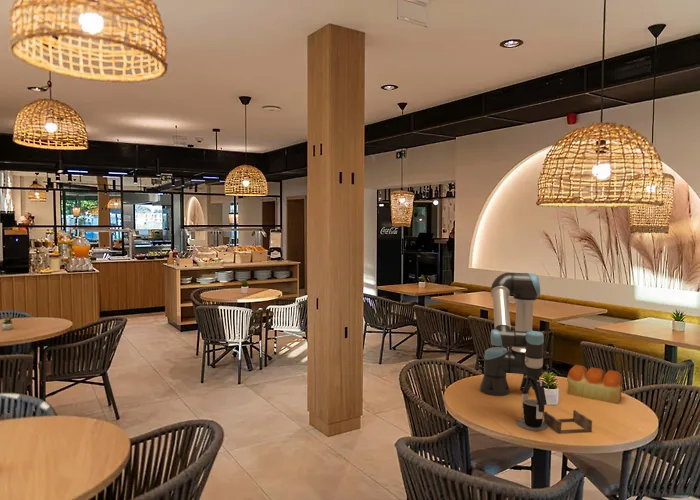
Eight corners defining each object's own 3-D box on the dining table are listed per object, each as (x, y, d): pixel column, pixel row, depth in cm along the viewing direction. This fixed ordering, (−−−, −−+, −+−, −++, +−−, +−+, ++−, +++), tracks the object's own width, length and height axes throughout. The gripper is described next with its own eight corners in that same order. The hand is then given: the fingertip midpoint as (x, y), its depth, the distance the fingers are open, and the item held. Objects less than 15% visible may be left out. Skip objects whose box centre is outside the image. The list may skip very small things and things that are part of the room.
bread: (622, 398, 273) (623, 370, 272) (618, 404, 263) (620, 376, 262) (571, 388, 287) (572, 362, 286) (566, 394, 277) (567, 367, 276)
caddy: (543, 422, 238) (544, 411, 237) (575, 420, 240) (575, 410, 240) (558, 433, 225) (559, 422, 225) (591, 431, 228) (592, 420, 227)
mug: (547, 428, 229) (548, 405, 228) (528, 429, 228) (528, 406, 227) (534, 418, 241) (535, 396, 240) (516, 418, 240) (516, 397, 239)
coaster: (511, 420, 240) (511, 418, 240) (537, 418, 242) (537, 417, 242) (524, 431, 227) (525, 430, 227) (552, 430, 229) (552, 428, 229)
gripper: (513, 359, 244) (511, 403, 245) (539, 374, 220) (538, 424, 221) (528, 358, 245) (526, 403, 247) (556, 374, 221) (554, 423, 222)
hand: (531, 413), depth 234 cm, fingers open, 12 cm apart
